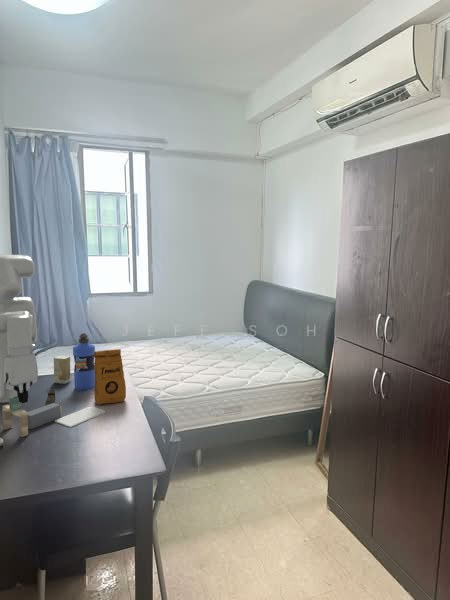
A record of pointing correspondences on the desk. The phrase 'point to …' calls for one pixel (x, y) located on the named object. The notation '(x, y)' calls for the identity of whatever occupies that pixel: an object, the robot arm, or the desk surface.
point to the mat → (80, 416)
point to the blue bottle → (84, 364)
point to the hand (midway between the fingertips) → (23, 401)
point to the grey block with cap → (43, 415)
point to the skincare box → (62, 369)
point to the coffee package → (109, 377)
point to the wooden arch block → (14, 409)
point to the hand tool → (50, 397)
